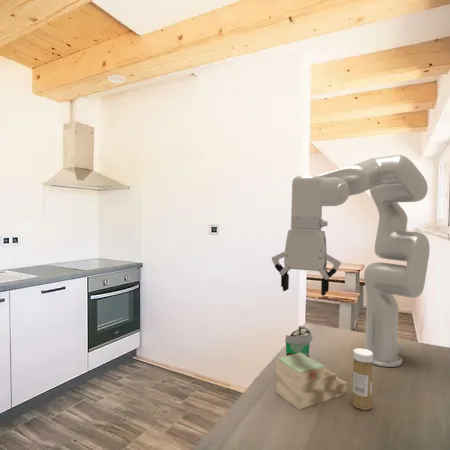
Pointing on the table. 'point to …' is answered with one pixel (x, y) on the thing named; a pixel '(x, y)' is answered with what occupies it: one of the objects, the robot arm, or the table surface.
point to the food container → (298, 341)
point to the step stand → (306, 381)
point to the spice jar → (362, 378)
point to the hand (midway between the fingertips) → (304, 292)
